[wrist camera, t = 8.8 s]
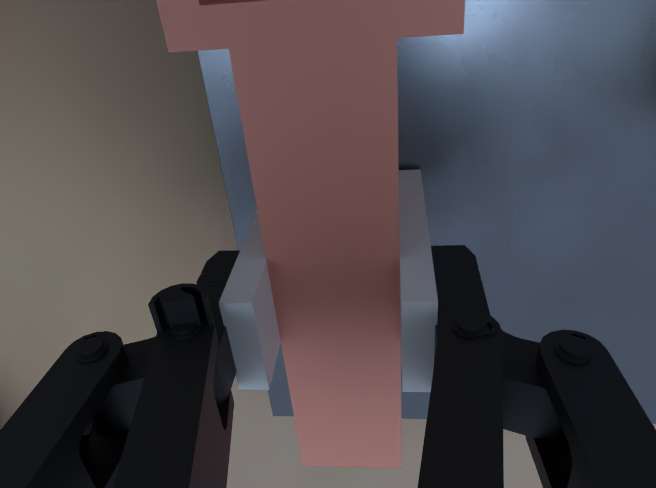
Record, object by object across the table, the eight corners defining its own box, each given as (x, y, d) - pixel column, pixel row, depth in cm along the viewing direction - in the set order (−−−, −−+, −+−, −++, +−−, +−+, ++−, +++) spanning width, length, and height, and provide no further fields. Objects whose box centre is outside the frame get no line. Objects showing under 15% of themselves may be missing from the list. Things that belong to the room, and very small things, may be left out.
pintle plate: (49, -646, 10) (8, -710, 9) (1616, -1011, 7) (1829, -1166, 6) (267, 394, 25) (261, 417, 24) (797, 402, 23) (817, 428, 21)
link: (429, 354, 21) (440, 469, 17) (288, 353, 22) (266, 464, 18) (449, -317, 11) (489, -435, 7) (181, -279, 12) (69, -366, 7)
